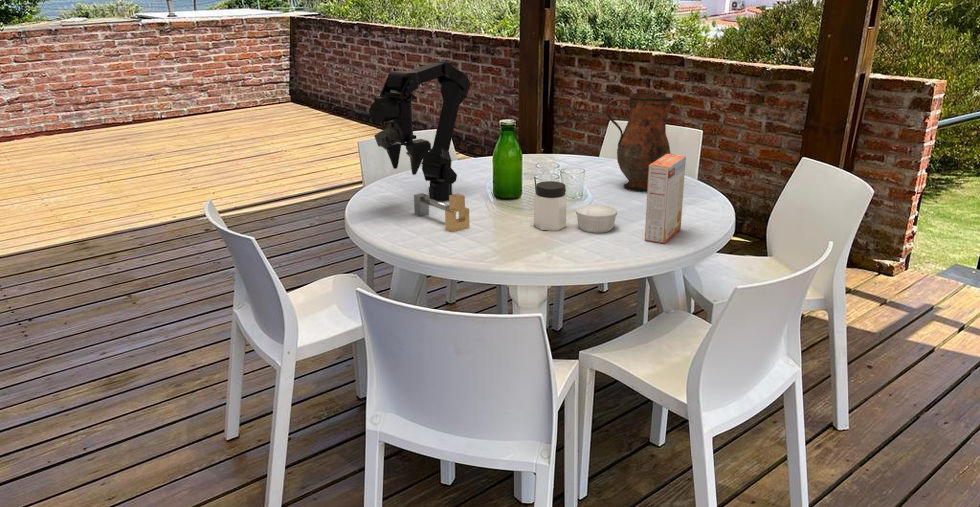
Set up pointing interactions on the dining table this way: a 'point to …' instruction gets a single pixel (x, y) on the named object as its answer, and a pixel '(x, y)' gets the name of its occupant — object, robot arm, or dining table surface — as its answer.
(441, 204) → the hook post
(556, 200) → the jar
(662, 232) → the cracker box
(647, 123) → the pitcher
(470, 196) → the dining table surface
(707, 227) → the dining table surface
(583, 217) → the ramekin
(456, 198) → the stirrup
